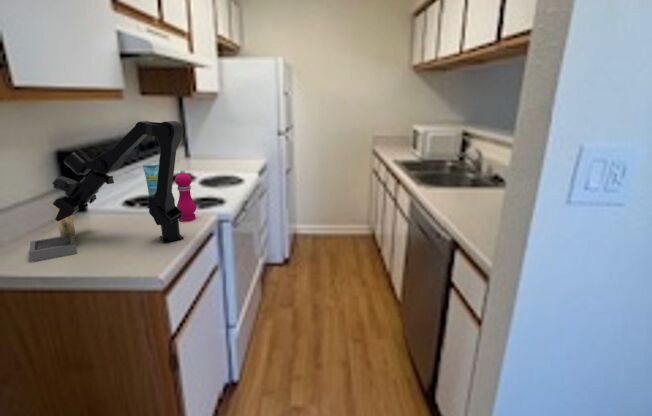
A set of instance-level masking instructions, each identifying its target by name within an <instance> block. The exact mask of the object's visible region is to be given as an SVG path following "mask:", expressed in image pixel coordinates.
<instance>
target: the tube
mask: <svg viewBox="0 0 652 416" xmlns="http://www.w3.org/2000/svg"><path fill="white" fill-rule="evenodd" d="M142 168H143V172H144V176H145V182H146V185H147V186H146V187H147V190H148V197H149V196H151V195H153V194H155V193H156V190H157V180H158V169H159V164H151V165H150V164H149V165H146V164H145V165H144V164H143V165H142Z"/></svg>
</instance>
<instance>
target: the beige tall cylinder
mask: <svg viewBox="0 0 652 416" xmlns="http://www.w3.org/2000/svg"><path fill="white" fill-rule="evenodd" d="M56 199H57V198H55V199H53V200H52V203H53V202H54V201H55V200H56ZM53 206H54V212H55V217H56V216H57V214H58V212H59V208H57V207H56V206H55V205H53ZM57 226H58V231H59V235H60V236H66V235H73V234H74V238H75V237H77V234H76V228H75V227H76V226H75V221H74V217H73V215H71V216H69V217H67V218H64V219H62V220H60V221H57ZM60 236H59V237H60Z"/></svg>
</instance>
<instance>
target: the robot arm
mask: <svg viewBox="0 0 652 416" xmlns="http://www.w3.org/2000/svg"><path fill="white" fill-rule="evenodd" d="M184 130H185V129H184V126H183V125H182V124H181V123H180V122H179V121H177V120H170V121H169V120H168V121H162V122H158V121H157V122H154V121H149V120H144V121H137V123H135V126H133V127H132V128H131V129H130V130H129V131H128V132H127V134H125V135H124V136H123V137H122V138H121V139H120V140H119V141H117V143H116V144H115V145H114V146H113V147H112V148H110V149H108V150H107V151H104V152H102V153H101V154H99V155H98V156H96V157H95V158H94V159H92V158H91V157H89V155H87V154H86V153H85V152H84V150H83V149H81V148H79V149H78V148H77V149H75V150H74V151H73V152H71V153H70V154H68V155H67V156H65V158H64V159H63V163H64V164H65V165H66V166H67V167H68V168H70V169H71V171H73V172H74V173H75V174H76V175H78V176H81V175H83V176H84V177H83V178H82V179H81V180H80V181H76V180H74V179H72V178H69V177H66V176H62V175H61V176H59V177H56V178H55V179H54V181H53V182H52V185H53V186H52V187H53V189H56V190H57V189H58V190H61V191H64V192H66V193H65V194H66V195H67V196H66V195H65V196H59V197H57V198H55V199H56V200H55V199H54V200H55V201H54V202H53V201H52V204H53V206H54V205H55V206H56V207H57V208H59V212H58V214H57V216H56V215H55V221H60V220H62V219H64V218H67V217H69V216H71V215H72V216H73V215H76V213H78V212H79V211H80V210H83V209H84V208H86V207H88V206H89V204H90V205H91V204H92V203H94V202H95V201H96V200H97V195H96V194H98V193H99V190H100V189H101V188H102V187H103V186H104V184H107V185H112V184H114V183H115V180H114V175H109V173H112V172H116V171H118V170H120V168H121V166H122V165H123V164H124V163H125V161H126V157H127V156H128V155H129V154H130V153H131V152H132V151H133V150H134V149H135V148H136V147H137V146H138V145H140V143H141V142H142V141H143V140H144V139H145V138H146V137H148V136H151V137H156V141H157V143H158V146H159V148H160V149H159V150H160V151H159V152H160V153H159V160H158V161H159V162H158V165H159V169H158V180H157V190H156V193H155V194H153V195H151V196H149V195H148V205H147V207H146V209H148V213H149V215H150V216H151V217H152V218H153V220H154V222H155V224H156V225H157V226H160V230H161V235H159V239H160V240H161V242H162V243H171V242H176V241H180V240H184V237H183V236H182V235H181V230H180V220H179V219H180V218H182V214H183V212H182V211H180V210H179V209H178V208H177V205H176V201H175V196H174V194H173V182H174V176H175V175H174V174H175V165H176V155H177V150H178V148H179V146H180V144H181V142H182V139H183V136H184V134H185V133H184V132H185V131H184ZM88 203H89V204H88Z"/></svg>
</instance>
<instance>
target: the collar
mask: <svg viewBox="0 0 652 416" xmlns="http://www.w3.org/2000/svg"><path fill="white" fill-rule="evenodd" d="M28 254H29V256H30V261H31V262H30V263H33V262H32V261H34V262H39V260H40V261H43V260H45V261H46V260H49V259H50V258H51V259H55V258H60V257H66V256H71V255H77V254H78V250H77V243H76V238H75V237H74V234H73V235H66V236H56V237H55V236H54V237H49V238H42V239H36V240H31V241H30V243H29V252H28Z"/></svg>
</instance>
